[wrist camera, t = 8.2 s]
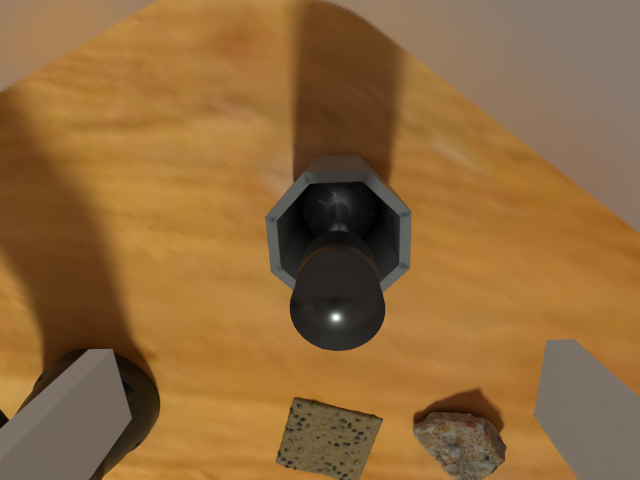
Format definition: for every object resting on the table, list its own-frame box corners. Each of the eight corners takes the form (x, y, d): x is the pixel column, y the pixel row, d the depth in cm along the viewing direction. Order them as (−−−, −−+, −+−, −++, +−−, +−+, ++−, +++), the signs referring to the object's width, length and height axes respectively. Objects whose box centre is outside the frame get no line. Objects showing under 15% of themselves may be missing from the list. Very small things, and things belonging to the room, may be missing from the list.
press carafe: (298, 261, 38) (277, 330, 25) (290, 156, 34) (260, 174, 22) (384, 259, 37) (408, 328, 24) (385, 151, 34) (412, 167, 21)
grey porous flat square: (359, 480, 48) (359, 487, 47) (275, 460, 48) (274, 466, 47) (384, 415, 45) (385, 421, 44) (293, 393, 44) (292, 399, 43)
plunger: (306, 243, 34) (267, 375, 16) (301, 174, 31) (250, 238, 14) (374, 240, 33) (414, 375, 15) (374, 171, 31) (419, 232, 13)
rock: (508, 425, 44) (456, 396, 40) (528, 478, 39) (471, 450, 36) (454, 446, 48) (402, 422, 45) (465, 496, 43) (409, 473, 40)
